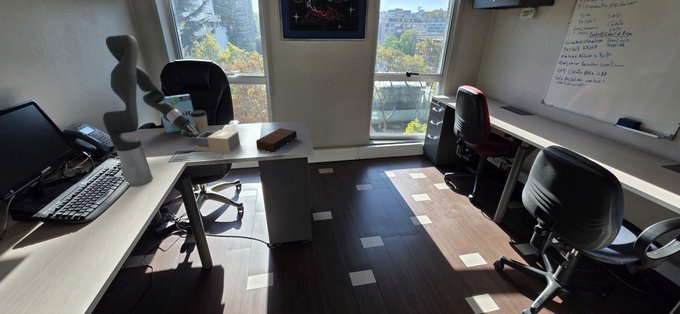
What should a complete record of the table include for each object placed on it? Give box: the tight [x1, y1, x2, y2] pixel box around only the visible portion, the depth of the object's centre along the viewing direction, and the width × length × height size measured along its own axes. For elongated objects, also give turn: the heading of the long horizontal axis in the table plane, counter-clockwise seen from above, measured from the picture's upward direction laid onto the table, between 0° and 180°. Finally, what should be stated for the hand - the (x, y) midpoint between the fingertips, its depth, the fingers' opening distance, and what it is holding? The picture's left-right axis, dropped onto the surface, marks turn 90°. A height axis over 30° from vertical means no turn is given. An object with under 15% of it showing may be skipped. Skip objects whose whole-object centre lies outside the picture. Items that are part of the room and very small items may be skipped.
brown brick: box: [255, 127, 298, 153], centre depth 167 cm, size 24×12×6 cm, turn 155°
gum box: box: [158, 93, 195, 134], centre depth 186 cm, size 20×5×23 cm, turn 123°
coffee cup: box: [191, 109, 209, 135], centre depth 180 cm, size 9×9×15 cm
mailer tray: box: [195, 130, 239, 151], centre depth 161 cm, size 10×20×7 cm, turn 79°
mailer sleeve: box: [193, 129, 241, 155], centre depth 161 cm, size 12×22×9 cm, turn 79°
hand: (201, 139), depth 163 cm, fingers closed
